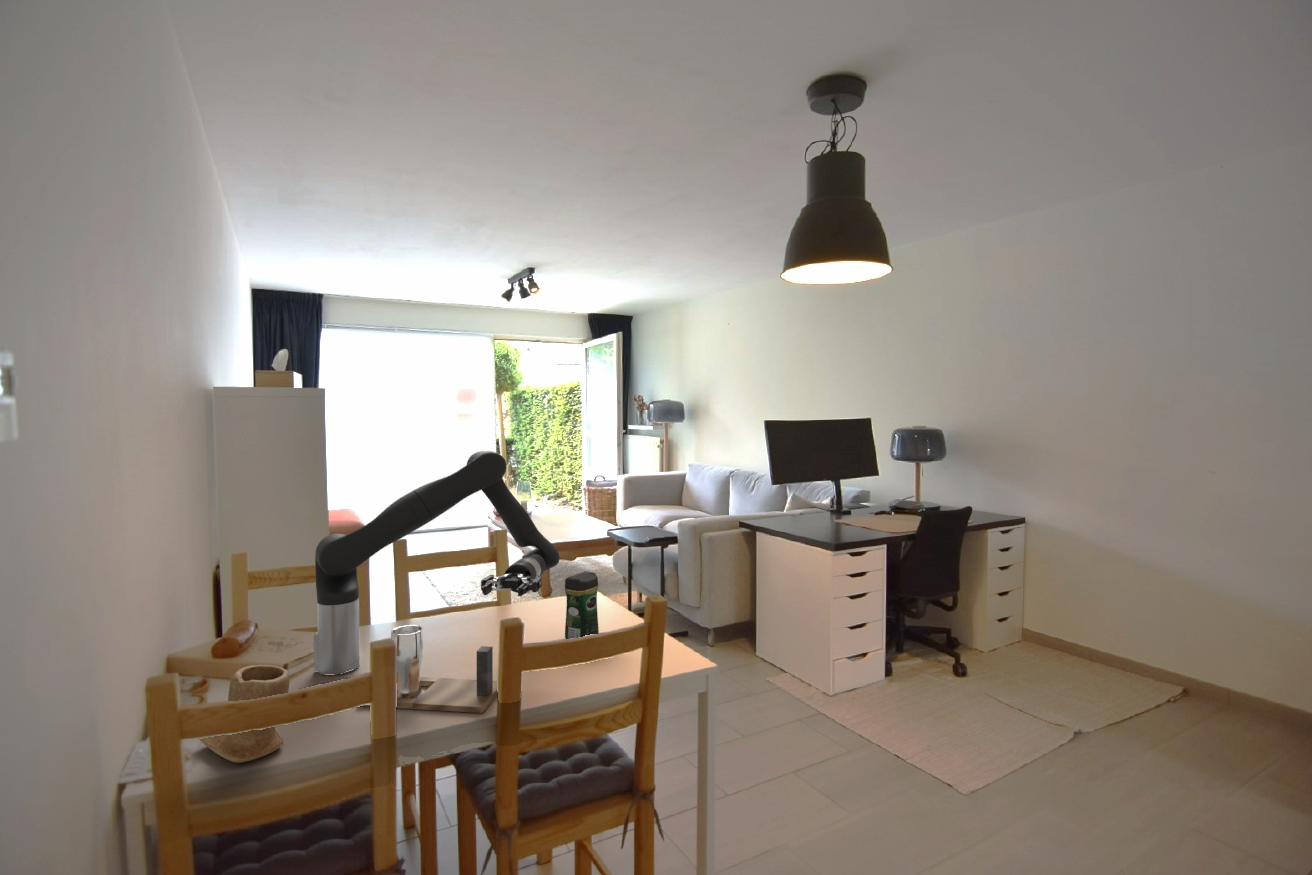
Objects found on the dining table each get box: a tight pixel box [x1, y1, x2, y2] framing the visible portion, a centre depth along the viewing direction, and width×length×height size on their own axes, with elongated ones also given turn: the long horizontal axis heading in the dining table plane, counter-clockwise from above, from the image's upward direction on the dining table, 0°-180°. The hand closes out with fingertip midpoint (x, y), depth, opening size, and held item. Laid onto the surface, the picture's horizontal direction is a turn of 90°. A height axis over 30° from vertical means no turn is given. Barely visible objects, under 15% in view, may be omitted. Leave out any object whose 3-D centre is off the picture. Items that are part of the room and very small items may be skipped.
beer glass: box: [390, 624, 425, 699], centre depth 141 cm, size 7×7×15 cm
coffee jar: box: [564, 570, 600, 640], centre depth 178 cm, size 10×8×19 cm
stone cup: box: [198, 664, 291, 764], centre depth 119 cm, size 15×12×15 cm
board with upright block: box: [364, 645, 498, 714], centre depth 141 cm, size 28×13×11 cm, turn 84°
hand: (502, 591), depth 150 cm, fingers open, 8 cm apart
